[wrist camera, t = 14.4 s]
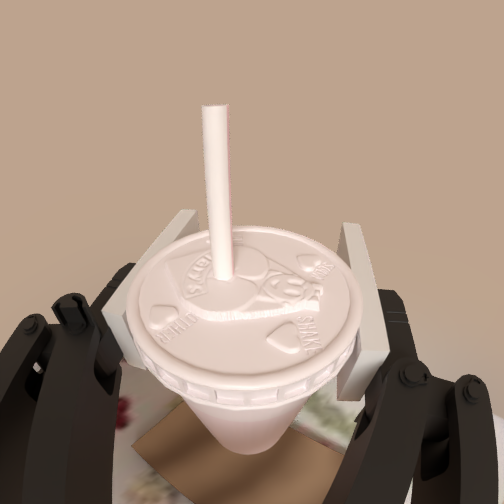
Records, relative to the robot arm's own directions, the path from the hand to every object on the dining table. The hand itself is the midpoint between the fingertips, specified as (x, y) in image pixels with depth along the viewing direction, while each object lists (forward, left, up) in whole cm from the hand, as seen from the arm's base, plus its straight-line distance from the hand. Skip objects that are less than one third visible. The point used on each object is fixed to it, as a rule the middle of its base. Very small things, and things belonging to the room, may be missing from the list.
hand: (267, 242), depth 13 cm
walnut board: (+2, -5, -22) cm, 23 cm away
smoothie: (+2, -5, -8) cm, 9 cm away
